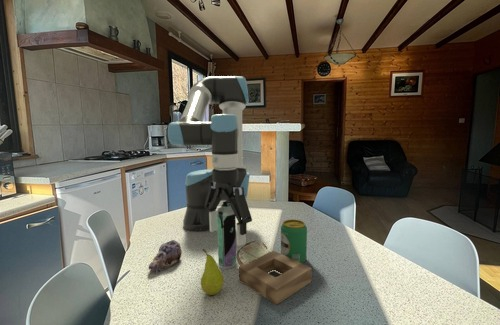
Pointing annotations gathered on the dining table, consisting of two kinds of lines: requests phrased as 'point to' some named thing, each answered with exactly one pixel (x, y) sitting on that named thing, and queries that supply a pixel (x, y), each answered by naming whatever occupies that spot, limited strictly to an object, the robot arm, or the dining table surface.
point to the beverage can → (294, 240)
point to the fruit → (211, 277)
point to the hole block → (272, 287)
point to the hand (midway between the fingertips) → (226, 237)
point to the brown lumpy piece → (166, 255)
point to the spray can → (226, 236)
